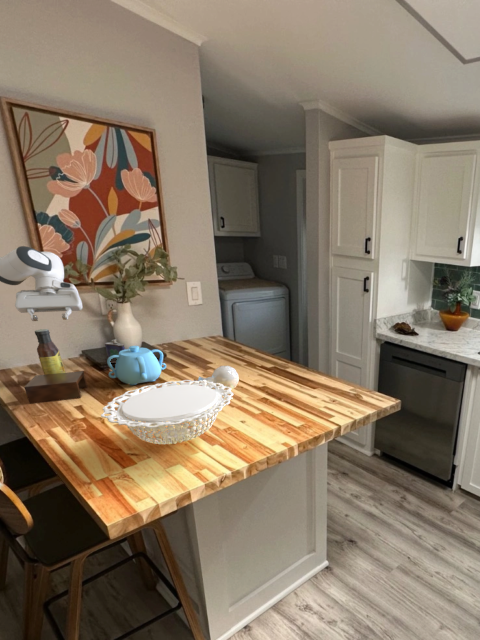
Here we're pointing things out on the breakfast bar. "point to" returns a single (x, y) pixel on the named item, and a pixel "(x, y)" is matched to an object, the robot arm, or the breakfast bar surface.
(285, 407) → the breakfast bar surface
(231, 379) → the potion bottle
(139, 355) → the decorative pot
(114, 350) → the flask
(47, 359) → the sauce bottle
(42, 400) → the shelf
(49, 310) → the robot arm
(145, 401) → the white lattice bowl
